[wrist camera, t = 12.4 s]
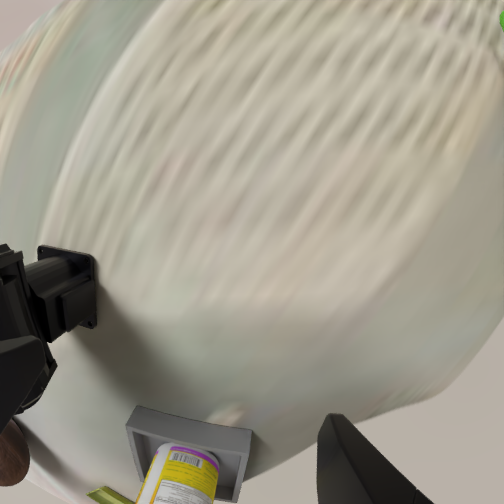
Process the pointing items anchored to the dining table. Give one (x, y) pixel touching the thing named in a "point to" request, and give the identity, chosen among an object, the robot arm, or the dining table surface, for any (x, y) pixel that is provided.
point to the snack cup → (502, 20)
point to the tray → (191, 445)
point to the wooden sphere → (13, 455)
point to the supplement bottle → (180, 476)
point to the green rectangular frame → (107, 496)
